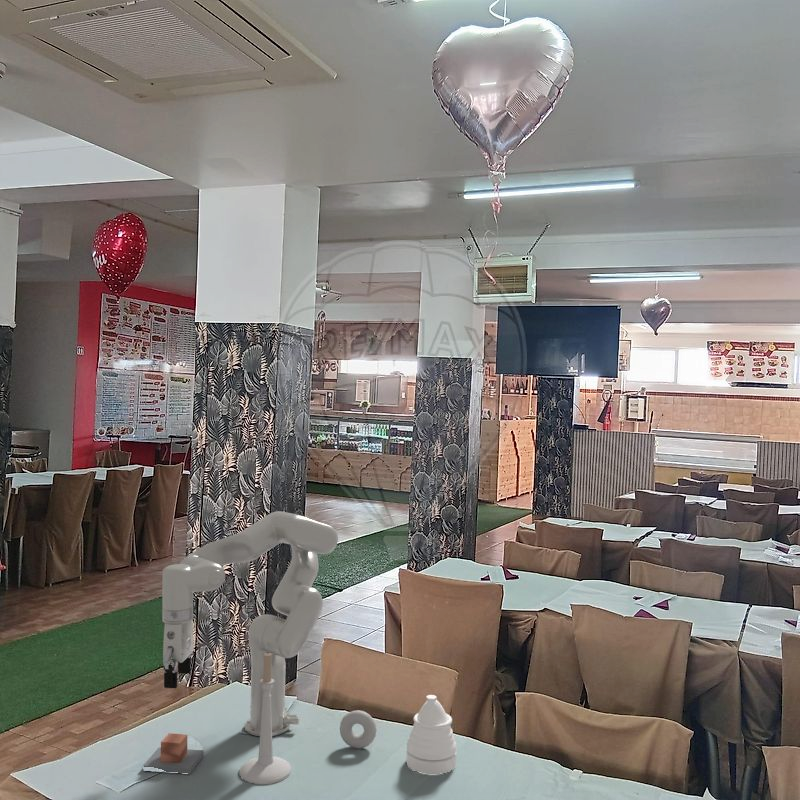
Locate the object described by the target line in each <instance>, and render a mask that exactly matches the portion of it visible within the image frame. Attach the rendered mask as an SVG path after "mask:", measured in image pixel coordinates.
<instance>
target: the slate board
mask: <svg viewBox="0 0 800 800" xmlns="http://www.w3.org/2000/svg"><path fill="white" fill-rule="evenodd" d="M201 758H202V759H203V758H204V749H203V750H202V749H190V748H189V749H188V748H187V755H186V756H185V757H184V758H183V760H182V761H181V762H180V763H172V762H161V747H158V748H157V749H156V750H155V751H154V752H153V753H152V754H151V756H150V757H149V758H148V759H147V760H146V761H145V763H144V764H142V767H143V766H144V767H154V768H158V769H162V770H164V771H166V772H178V773H188V774H190V773H191V774H192V772H193V771H194V770H195V768H196V767H197V766H198V764H199V763H200V762H201V760H202V759H201ZM198 762H199V763H198ZM197 763H198V764H197ZM196 765H197V766H196ZM195 766H196V767H195ZM193 769H194V770H193ZM192 770H193V771H192ZM191 771H192V772H191ZM191 774H190V775H191Z"/></svg>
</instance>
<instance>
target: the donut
mask: <svg viewBox="0 0 800 800" xmlns="http://www.w3.org/2000/svg"><path fill="white" fill-rule="evenodd" d="M357 724H358V725H360V726H362V728H363V733H361V734H357V733H355V732H354V731H353V726H354V725H357ZM339 733H340V737H341V739H342V742H344V743H345V744H346V745H347V746H349V747H351V748H353V749H364V748H366V747H369V746H370V745H371V744H372V743H373V742H374V740H375V738H376V735H377V725H376V723H375V720H374V718H373V717H372V716H371V715H370V714H369V713H367V712H366V711H364V710H359V709H357V710H356V709H355V710H352V711H349V712H348V713H346V714H345V715H344V716H343V717H342V719H341V722H340V724H339Z"/></svg>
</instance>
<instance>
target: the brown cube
mask: <svg viewBox="0 0 800 800" xmlns="http://www.w3.org/2000/svg"><path fill="white" fill-rule="evenodd" d="M188 735H189V734H187V733H186V734H183V733H182V734H181V733H170V732H169V733H168V734H167V735H166V736H164V738H163V739H162V740H161V741H160V748H161V762H172V763H180V762H181V761H182V760H183V758H184V757H185V756H186V755H187V749H188Z"/></svg>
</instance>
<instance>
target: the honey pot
mask: <svg viewBox="0 0 800 800" xmlns="http://www.w3.org/2000/svg"><path fill="white" fill-rule="evenodd" d="M425 698H426V701H425V703H424V704H423V705H422V706H421V708H420V710H419V711H418V712H417V713H416V714H415V715H414V716H413V722H414V723H413V725H412V727H411V729H410V733H409V737H408V738H407V740H406V758H405V759H406V761H405V762H407V764H406V766H407V765H408V766H409V767H410V768H411V769H413V770H415V771H418V772H422V773H426V774H440V773H445V772H448V771H451V770H452V769H454V768H456V767H457V742H456V740H455V735H454V733H453V732H454V730H453V729H452V726H451V725H452V723H453V717H452V716H451V715H450V714H448V713H446V710H445V709H444V707H443V706H442V704H441V702H440V701H439V700H438V699H437V695H434V694H428V695H426V697H425ZM408 766H407V767H408ZM455 766H456V767H455ZM409 767H408V768H409ZM410 768H409V769H410ZM411 769H410V770H411ZM413 770H412V771H413ZM454 770H455V769H454ZM452 771H453V770H452ZM452 771H451V772H452Z"/></svg>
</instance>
